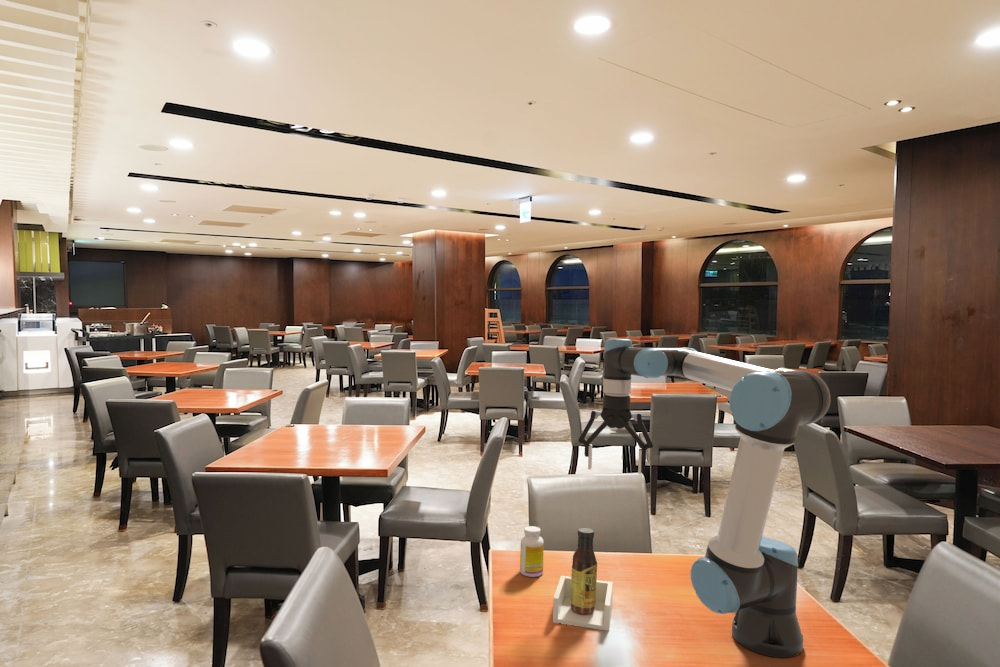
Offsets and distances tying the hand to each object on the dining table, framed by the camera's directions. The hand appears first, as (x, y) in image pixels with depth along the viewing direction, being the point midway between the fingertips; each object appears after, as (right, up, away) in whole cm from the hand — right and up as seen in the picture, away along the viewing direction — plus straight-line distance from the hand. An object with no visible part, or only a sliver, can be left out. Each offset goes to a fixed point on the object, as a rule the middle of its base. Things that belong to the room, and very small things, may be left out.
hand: (614, 470), depth 166 cm
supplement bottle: (-23, -31, +6) cm, 39 cm away
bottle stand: (-11, -32, -17) cm, 38 cm away
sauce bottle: (-11, -31, -17) cm, 37 cm away
